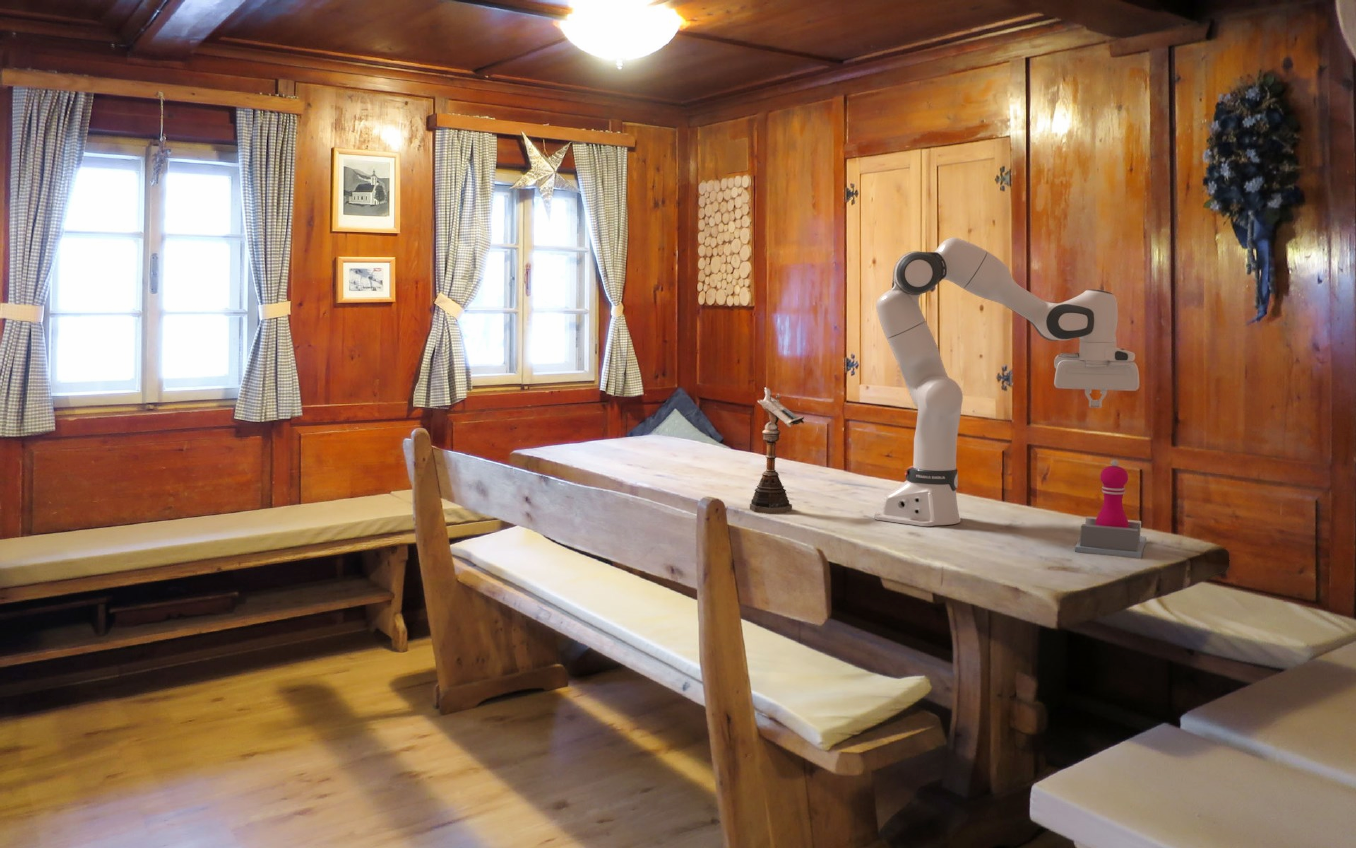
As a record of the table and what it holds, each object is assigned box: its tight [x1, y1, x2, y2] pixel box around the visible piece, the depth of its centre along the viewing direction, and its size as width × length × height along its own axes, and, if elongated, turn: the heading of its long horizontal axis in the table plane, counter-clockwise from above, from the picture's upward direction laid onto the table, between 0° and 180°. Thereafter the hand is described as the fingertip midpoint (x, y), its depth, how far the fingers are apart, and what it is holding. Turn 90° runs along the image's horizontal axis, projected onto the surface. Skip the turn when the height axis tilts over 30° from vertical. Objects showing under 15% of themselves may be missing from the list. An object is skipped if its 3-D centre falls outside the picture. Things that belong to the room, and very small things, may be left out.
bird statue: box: [749, 387, 805, 515], centre depth 285 cm, size 17×13×35 cm
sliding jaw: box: [1085, 516, 1142, 543], centre depth 243 cm, size 12×2×5 cm, turn 63°
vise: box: [1074, 523, 1147, 559], centre depth 241 cm, size 14×20×6 cm
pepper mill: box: [1095, 459, 1129, 528], centre depth 238 cm, size 7×7×20 cm
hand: (1095, 407), depth 262 cm, fingers closed
